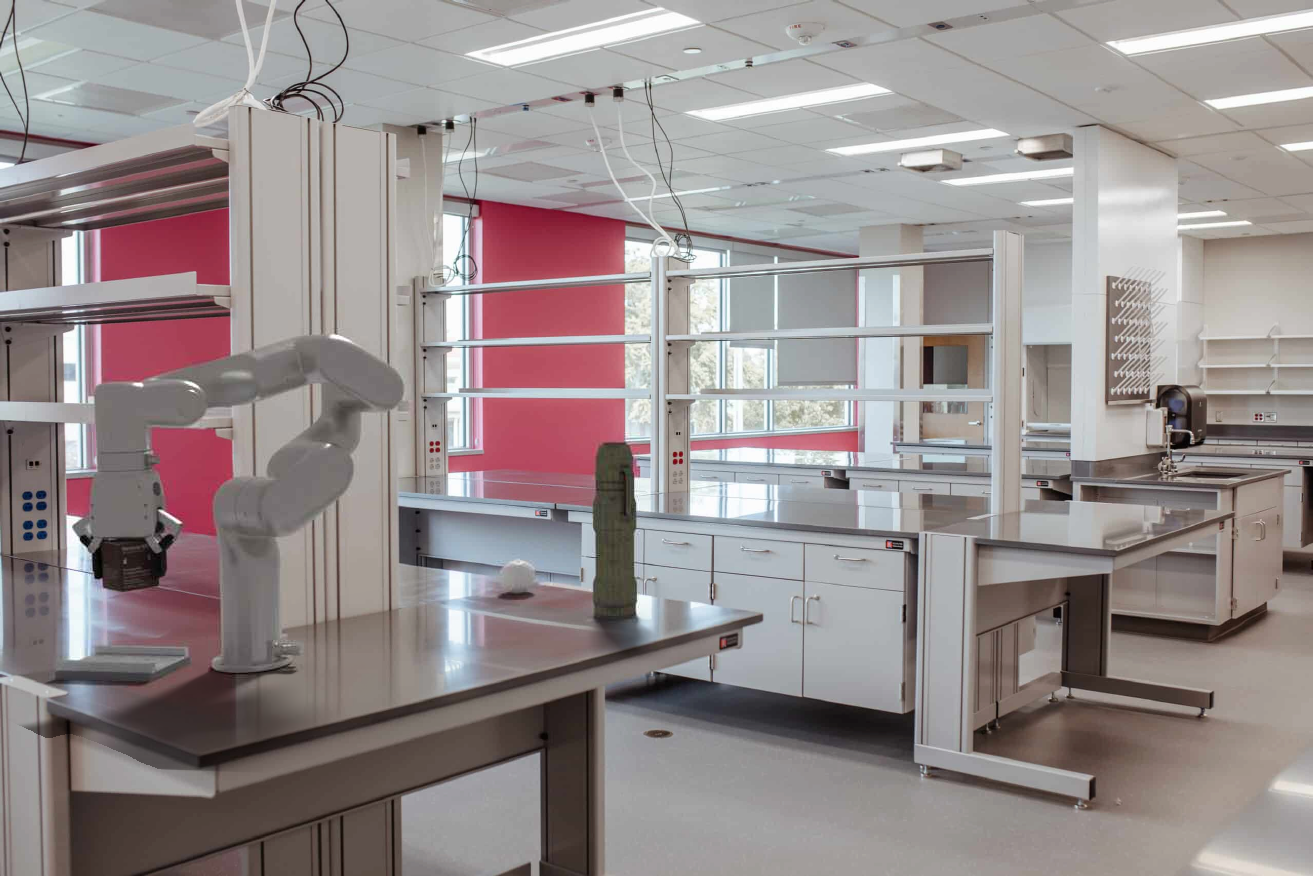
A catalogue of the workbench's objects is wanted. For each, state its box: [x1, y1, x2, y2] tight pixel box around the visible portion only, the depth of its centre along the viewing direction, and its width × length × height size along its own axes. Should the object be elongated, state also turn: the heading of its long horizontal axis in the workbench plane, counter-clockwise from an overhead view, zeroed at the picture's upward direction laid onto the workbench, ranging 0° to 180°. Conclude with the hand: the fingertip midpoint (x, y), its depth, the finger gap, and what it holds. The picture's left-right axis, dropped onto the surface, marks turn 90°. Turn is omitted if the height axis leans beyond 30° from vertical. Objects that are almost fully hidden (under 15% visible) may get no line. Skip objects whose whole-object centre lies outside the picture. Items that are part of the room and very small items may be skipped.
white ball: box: [499, 559, 536, 595], centre depth 247 cm, size 8×8×8 cm
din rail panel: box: [54, 644, 191, 683], centre depth 181 cm, size 16×12×3 cm
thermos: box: [592, 441, 638, 620], centre depth 223 cm, size 9×12×35 cm
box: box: [101, 538, 160, 593], centre depth 167 cm, size 6×6×7 cm
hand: (130, 577), depth 167 cm, fingers closed on box, 8 cm apart
